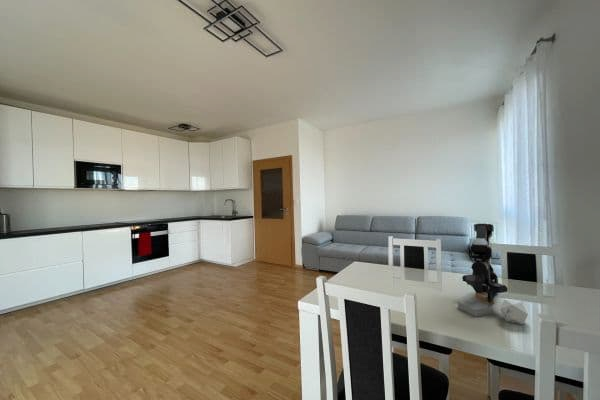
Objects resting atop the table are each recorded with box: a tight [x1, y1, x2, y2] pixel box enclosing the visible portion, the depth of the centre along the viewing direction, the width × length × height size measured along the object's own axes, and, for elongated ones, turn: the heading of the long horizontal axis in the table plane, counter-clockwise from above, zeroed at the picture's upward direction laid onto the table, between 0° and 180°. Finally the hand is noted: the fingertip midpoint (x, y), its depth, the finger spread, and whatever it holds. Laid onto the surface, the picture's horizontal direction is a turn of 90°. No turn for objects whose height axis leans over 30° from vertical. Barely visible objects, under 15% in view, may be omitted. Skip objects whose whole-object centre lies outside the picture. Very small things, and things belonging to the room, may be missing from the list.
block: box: [474, 292, 495, 306], centre depth 114 cm, size 5×5×4 cm
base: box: [457, 298, 493, 317], centre depth 107 cm, size 9×9×3 cm
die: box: [499, 299, 529, 325], centre depth 96 cm, size 8×9×10 cm
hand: (484, 300), depth 114 cm, fingers closed on block, 5 cm apart
